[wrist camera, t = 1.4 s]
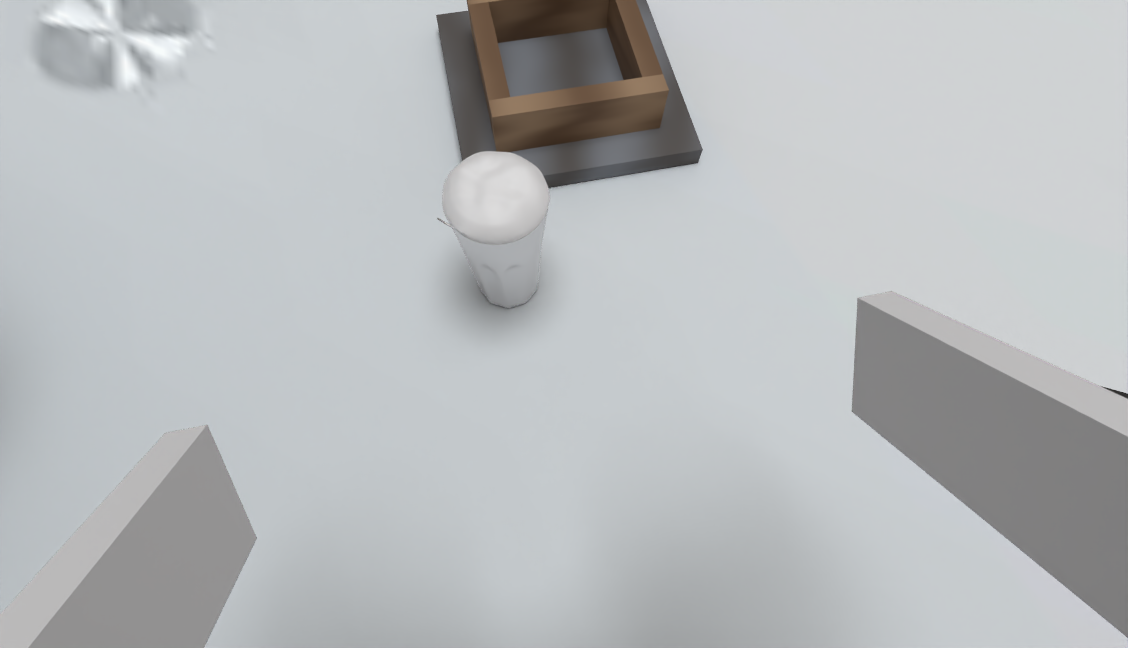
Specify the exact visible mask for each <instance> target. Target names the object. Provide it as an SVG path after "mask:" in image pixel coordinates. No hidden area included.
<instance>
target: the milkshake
mask: <svg viewBox="0 0 1128 648" xmlns="http://www.w3.org/2000/svg"><path fill="white" fill-rule="evenodd" d="M549 201H550V193H549V188H548V186H547V183H546V181H545V178H544V176H543V174H542V173H541V171H540V170H539V169H538V168H537V167H536V166H535V165H534V164H532V163H531V162H529V161H528V160H526V159H524V158H522V157H521V156H519V155H516V154H514V153H510V152H496V151H483V152H479V153H476V154H473V155H471V156H469V157H468V158H466V159H465V160H463V161H462V162H461V163H460V164H458V165H457V166H456V167H455V168H454V169H453V170H452V171H451V172H450V173H449V174H448V176H447V178H446V180H445V183H444V186H443V195H442V205H443V210H444V214H445V216H446V218H447V220H448V221H449V223H450V224H448V223H446V222H445V221H443V220H441V219H439V218H437V219H438V220H440V221H441V222H443V223H444V224H446V225H448V226H450V227H452V229H453V231H454V233H455V235H456V237H457V239H458V241H459V243H460V245H461V247H462V249H463V252H464V254H465V256H466V259H467V261H468V263H469V266H470V268H471V270H472V272H473V275H474V277H475V279H476V282H477V284H478V286H479V288H480V290H481V291H482V293H483V294H484V295H485V297H486V298H487V299H488V301H489V302H490V303H492V304H495V305H498V306H502V307H505V308H511V307H515V306H518V305H521V304H525V303H527V301H528V300H529V299H530V298H531V296H532V295H533V294H534V293H535V292H536V290H537V288H538V278H539V269H540V259H541V249H542V242H543V236H544V230H545V224H546V218H547V212H548V206H549Z"/></svg>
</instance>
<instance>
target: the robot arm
mask: <svg viewBox="0 0 1128 648" xmlns="http://www.w3.org/2000/svg"><path fill="white" fill-rule="evenodd" d="M852 412H853V413H854V414H855V415H857V416H858V417H859V418H860V419H861V420H863V421H864V422H865V423H866V424H867V425H869V426H870V427H871V428H872V429H874V430H875V431H876V432H877V433H878V434H880V435H881V436H882V437H883V438H885V439H886V440H887V441H888V442H889V443H891V444H892V445H893V446H894V447H896V448H897V449H898V450H899V451H900V452H902V453H903V454H904V455H905V456H907V457H908V458H909V459H910V460H911V461H913V462H914V463H915V464H916V465H918V466H919V467H920V468H921V469H922V470H924V471H925V472H926V473H927V474H929V475H930V476H931V477H932V478H933V479H935V480H936V481H937V482H938V483H939V484H941V485H942V486H943V487H944V488H946V489H947V490H948V491H949V492H950V493H952V494H953V495H954V496H955V497H957V498H958V499H959V500H960V501H961V502H963V503H964V504H965V505H966V506H968V507H969V508H970V509H971V510H972V511H974V512H975V513H976V514H977V515H979V516H980V517H981V518H982V519H983V520H985V521H986V522H987V523H988V524H990V525H991V526H992V527H993V528H994V529H996V530H997V531H998V532H999V533H1000V534H1002V535H1003V536H1004V537H1005V538H1007V539H1008V540H1009V541H1010V542H1011V543H1013V544H1014V545H1015V546H1016V547H1018V548H1019V549H1020V550H1021V551H1022V552H1024V553H1025V554H1026V555H1027V556H1029V557H1030V558H1031V559H1032V560H1033V561H1035V562H1036V563H1037V564H1038V565H1040V566H1041V567H1042V568H1043V569H1044V570H1046V571H1047V572H1048V573H1049V574H1051V575H1052V576H1053V577H1054V578H1055V579H1057V580H1058V581H1059V582H1060V583H1062V584H1063V585H1064V586H1065V587H1066V588H1068V589H1069V590H1070V591H1071V592H1072V593H1074V594H1075V595H1076V596H1077V597H1079V598H1080V599H1081V600H1082V601H1083V602H1085V603H1086V604H1087V605H1088V606H1090V607H1091V608H1092V609H1093V610H1094V611H1096V612H1097V613H1098V614H1099V615H1101V616H1102V617H1103V618H1104V619H1105V620H1107V621H1108V622H1109V623H1110V624H1112V625H1113V626H1114V627H1115V628H1116V629H1118V630H1119V631H1120V632H1121V633H1123V634H1124V635H1125V636H1126V637H1127V638H1128V394H1127V393H1123V392H1120V391H1116V390H1112V389H1109V388H1105V387H1101V386H1099V385H1096V384H1094V383H1092V382H1090V381H1088V380H1085V379H1083V378H1081V377H1079V376H1077V375H1074V374H1072V373H1070V372H1068V371H1066V370H1063V369H1061V368H1059V367H1057V366H1055V365H1053V364H1050V363H1048V362H1046V361H1044V360H1042V359H1039V358H1037V357H1035V356H1033V355H1031V354H1028V353H1026V352H1024V351H1022V350H1020V349H1017V348H1015V347H1013V346H1011V345H1009V344H1007V343H1004V342H1002V341H1000V340H998V339H996V338H993V337H991V336H989V335H987V334H985V333H982V332H980V331H978V330H976V329H974V328H971V327H969V326H967V325H965V324H963V323H961V322H958V321H956V320H954V319H952V318H950V317H947V316H945V315H943V314H941V313H939V312H936V311H934V310H932V309H930V308H928V307H925V306H923V305H921V304H919V303H917V302H915V301H912V300H910V299H908V298H906V297H904V296H901V295H899V294H897V293H895V292H893V291H890V292H885V293H880V294H875V295H870V296H864V297H859V298H858V300H857V320H856V339H855V358H854V378H853V397H852ZM256 539H257V537H256V535H255V533H254V530H253V528H252V526H251V524H250V521H249V519H248V517H247V514H246V512H245V510H244V508H243V505H242V503H241V501H240V498H239V496H238V494H237V491H236V489H235V487H234V485H233V482H232V480H231V478H230V475H229V473H228V471H227V469H226V466H225V464H224V462H223V459H222V457H221V455H220V452H219V450H218V448H217V446H216V443H215V441H214V439H213V436H212V434H211V432H210V430H209V427H208V425H203V426H198V427H193V428H188V429H183V430H177V431H172V432H167V433H165V434H164V435H163V436H162V437H161V438H160V439H159V440H158V441H157V443H156V444H155V445H154V446H153V447H152V448H151V449H150V450H149V451H148V452H147V454H146V455H145V456H144V457H143V458H142V459H141V460H140V461H139V462H138V463H137V465H136V466H135V467H134V468H133V469H132V470H131V471H130V472H129V473H128V474H127V476H126V477H125V478H124V479H123V480H122V481H121V482H120V483H119V484H118V485H117V487H116V488H115V489H114V490H113V491H112V492H111V493H110V494H109V495H108V496H107V498H106V499H105V500H104V501H103V502H102V503H101V504H100V505H99V506H98V507H97V508H96V510H95V511H94V512H93V513H92V514H91V515H90V516H89V517H88V518H87V519H86V521H85V522H84V523H83V524H82V525H81V526H80V527H79V528H78V529H77V530H76V532H75V533H74V534H73V535H72V536H71V537H70V538H69V539H68V540H67V541H66V543H65V544H64V545H63V546H62V547H61V548H60V549H59V550H58V551H57V552H56V554H55V555H54V556H53V557H52V558H51V559H50V560H49V561H48V562H47V563H46V565H45V566H44V567H43V568H42V569H41V570H40V571H39V572H38V573H37V574H36V576H35V577H34V578H33V579H32V580H31V581H30V582H29V583H28V584H27V585H26V587H25V588H24V589H23V590H22V591H21V592H20V593H19V594H18V595H17V596H16V598H15V599H14V600H13V601H12V602H11V603H10V604H9V605H8V606H7V607H6V609H5V610H4V611H3V612H2V613H1V614H0V648H204V647H205V645H206V642H207V640H208V638H209V636H210V634H211V632H212V630H213V628H214V626H215V624H216V622H217V620H218V618H219V616H220V613H221V611H222V609H223V607H224V605H225V603H226V601H227V599H228V597H229V595H230V593H231V591H232V589H233V587H234V585H235V582H236V580H237V578H238V576H239V574H240V572H241V570H242V568H243V566H244V564H245V562H246V560H247V558H248V556H249V553H250V551H251V549H252V547H253V545H254V543H255V541H256Z"/></svg>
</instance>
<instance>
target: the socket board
mask: <svg viewBox="0 0 1128 648" xmlns="http://www.w3.org/2000/svg"><path fill="white" fill-rule="evenodd" d="M467 5H468V11H463V12H455V13H448V14H440V15H436V17H437V22H438V28H439V33H440V39H441V44H442V50H443V55H444V61H445V66H446V72H447V78H448V83H449V89H450V94H451V100H452V105H453V111H454V116H455V122H456V127H457V133H458V139H459V144H460V150H461V155H462V161H463V160H465V159H466V158H468V157H469V156H471V155H473V154H476V153H479V152H483V151H496V152H510V153H514V154H516V155H519V156H521V157H522V158H524V159H526V160H528V161H529V162H531V163H532V164H534V165H535V166H536V167H537V168H538V169H539V170H540V171H541V173H542V174H543V176H544V178H545V181H546V183H547V186H548V188H549V187H555V186H561V185H567V184H573V183H579V182H585V181H591V180H597V179H603V178H609V177H615V176H621V175H627V174H633V173H639V172H645V171H651V170H656V169H662V168H668V167H674V166H680V165H686V164H692V163H698V161H699V158H700V155H701V153H702V150H703V149H702V147H701V144H700V141H699V139H698V136H697V134H696V131H695V128H694V126H693V123H692V120H691V118H690V115H689V112H688V110H687V107H686V104H685V102H684V99H683V96H682V94H681V91H680V89H679V86H678V83H677V81H676V78H675V75H674V73H673V70H672V67H671V65H670V62H669V59H668V57H667V54H666V51H665V49H664V46H663V44H662V41H661V38H660V36H659V33H658V30H657V28H656V25H655V22H654V20H653V17H652V14H651V12H650V9H649V6H648V4H647V1H646V0H467Z"/></svg>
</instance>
